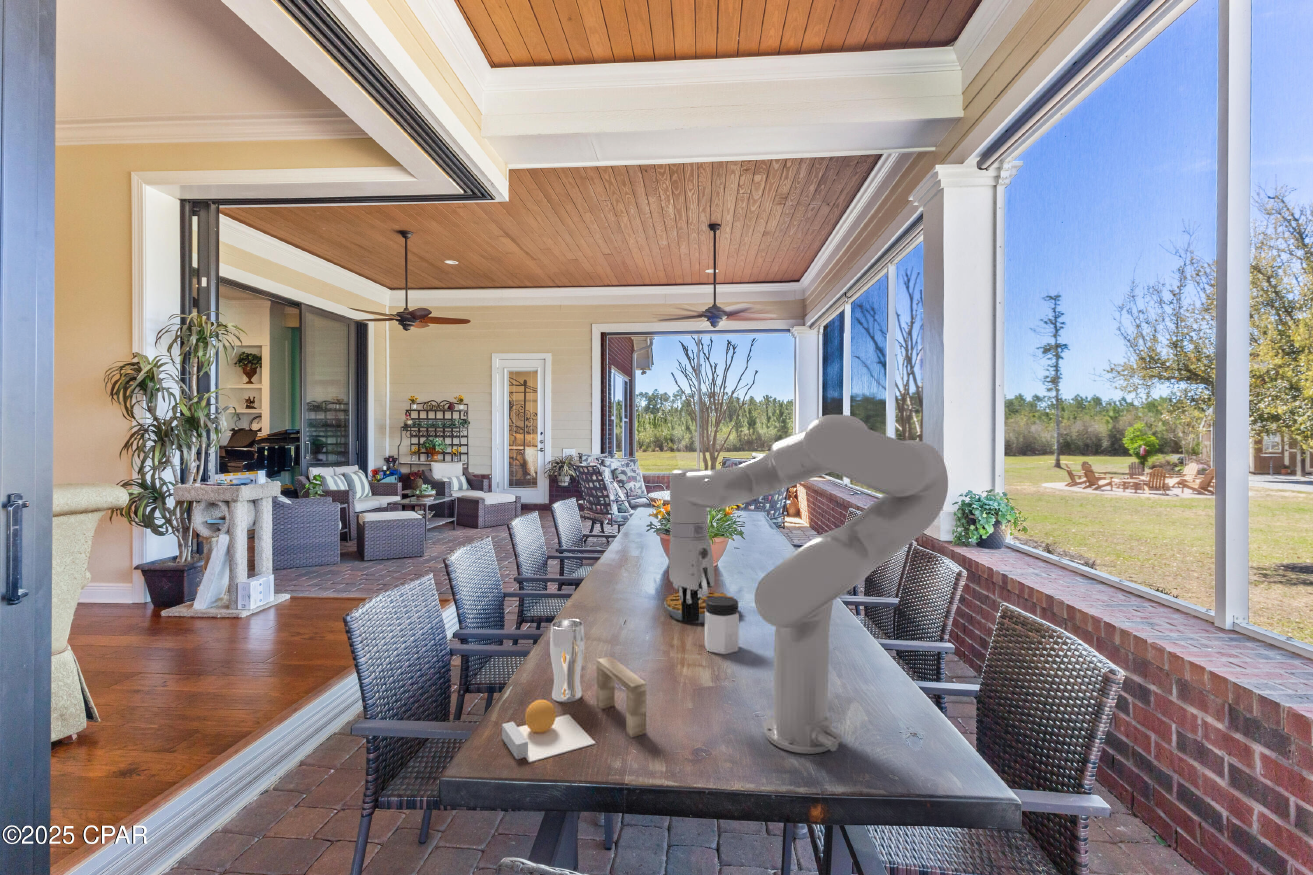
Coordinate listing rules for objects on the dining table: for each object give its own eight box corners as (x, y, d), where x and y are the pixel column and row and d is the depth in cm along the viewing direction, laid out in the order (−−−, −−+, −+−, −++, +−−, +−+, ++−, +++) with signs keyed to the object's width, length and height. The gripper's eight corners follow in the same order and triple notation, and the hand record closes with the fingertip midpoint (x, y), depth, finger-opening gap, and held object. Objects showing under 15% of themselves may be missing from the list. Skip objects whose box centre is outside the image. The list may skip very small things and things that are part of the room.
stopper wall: (528, 756, 103) (528, 741, 103) (516, 759, 102) (516, 744, 102) (513, 735, 110) (513, 721, 110) (502, 737, 109) (502, 724, 109)
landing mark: (595, 743, 107) (595, 742, 107) (529, 762, 101) (529, 761, 101) (568, 715, 118) (568, 714, 118) (506, 730, 111) (506, 729, 111)
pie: (668, 601, 195) (668, 585, 194) (738, 604, 191) (738, 589, 191) (659, 623, 173) (659, 605, 173) (737, 627, 170) (737, 610, 170)
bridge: (610, 701, 123) (610, 656, 123) (646, 733, 111) (646, 682, 111) (596, 704, 122) (596, 659, 122) (631, 737, 110) (631, 686, 109)
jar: (717, 656, 148) (718, 607, 148) (697, 646, 155) (697, 599, 154) (745, 649, 153) (746, 601, 152) (724, 639, 160) (725, 594, 159)
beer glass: (568, 706, 121) (569, 631, 121) (542, 698, 125) (542, 624, 124) (590, 693, 127) (591, 621, 127) (564, 685, 131) (565, 616, 130)
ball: (535, 744, 109) (563, 727, 111) (525, 719, 107) (554, 703, 109) (527, 728, 114) (554, 712, 116) (517, 703, 112) (545, 688, 114)
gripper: (727, 533, 119) (728, 627, 119) (683, 524, 132) (684, 609, 132) (695, 537, 115) (697, 634, 115) (653, 527, 128) (655, 615, 128)
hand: (690, 620), depth 124 cm, fingers closed
